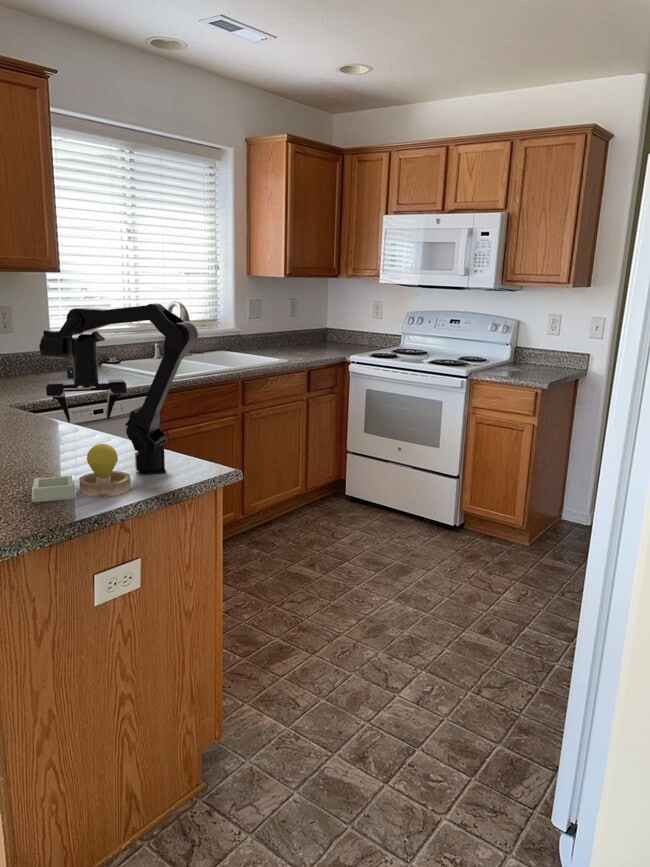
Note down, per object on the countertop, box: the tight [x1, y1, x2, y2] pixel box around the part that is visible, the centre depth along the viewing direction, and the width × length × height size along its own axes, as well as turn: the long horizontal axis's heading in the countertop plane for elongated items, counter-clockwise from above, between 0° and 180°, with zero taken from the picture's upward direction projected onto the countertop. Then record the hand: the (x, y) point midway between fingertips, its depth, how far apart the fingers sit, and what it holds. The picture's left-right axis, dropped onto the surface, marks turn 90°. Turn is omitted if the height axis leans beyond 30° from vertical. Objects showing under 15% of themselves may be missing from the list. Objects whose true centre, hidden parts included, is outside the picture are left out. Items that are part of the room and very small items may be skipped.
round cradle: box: [78, 470, 132, 498], centre depth 154 cm, size 11×11×3 cm
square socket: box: [31, 475, 77, 503], centre depth 150 cm, size 9×9×3 cm
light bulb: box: [86, 443, 119, 484], centre depth 153 cm, size 7×7×10 cm
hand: (88, 421), depth 169 cm, fingers open, 9 cm apart
